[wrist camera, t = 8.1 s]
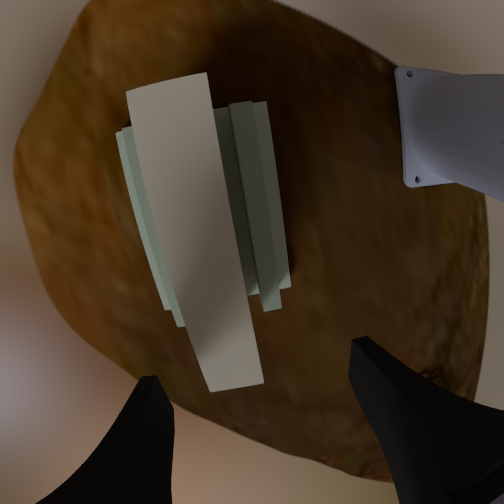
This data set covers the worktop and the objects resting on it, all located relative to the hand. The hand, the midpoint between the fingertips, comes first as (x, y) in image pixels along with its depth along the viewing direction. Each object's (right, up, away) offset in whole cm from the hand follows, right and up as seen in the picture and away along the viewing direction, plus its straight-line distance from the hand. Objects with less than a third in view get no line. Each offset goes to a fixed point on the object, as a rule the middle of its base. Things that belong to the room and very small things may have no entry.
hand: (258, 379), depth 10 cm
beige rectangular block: (-3, +7, +6) cm, 9 cm away
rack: (-3, +7, +7) cm, 10 cm away
